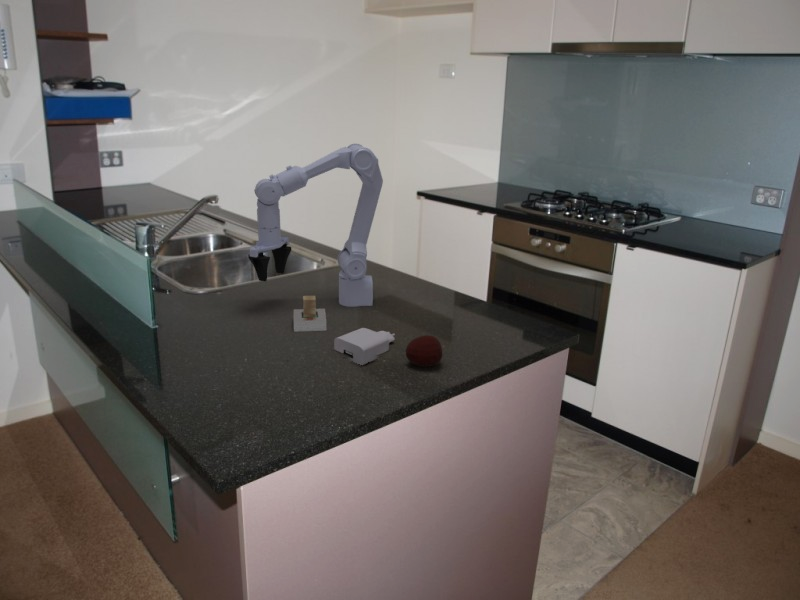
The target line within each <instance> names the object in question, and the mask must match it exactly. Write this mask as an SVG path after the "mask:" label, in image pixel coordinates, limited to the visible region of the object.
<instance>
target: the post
mask: <svg viewBox="0 0 800 600" xmlns="http://www.w3.org/2000/svg"><path fill="white" fill-rule="evenodd" d="M302 300H303V305H302V306H303V308H302V309H304V313H303V318H310V317H316V309H317V307H316V305H317V304H316V303H317V302H316V295H303V296H302Z"/></svg>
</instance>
